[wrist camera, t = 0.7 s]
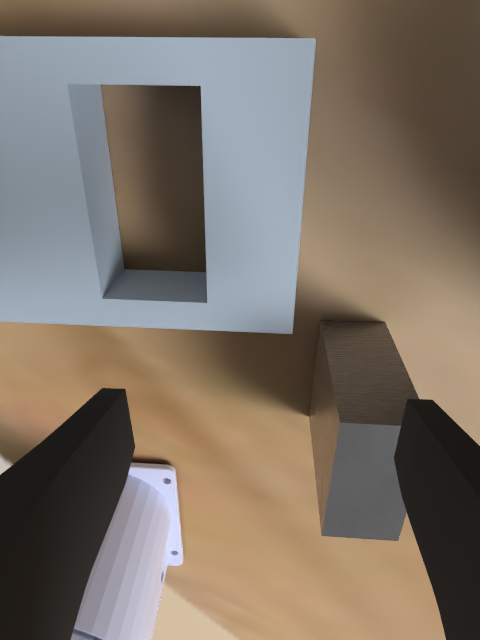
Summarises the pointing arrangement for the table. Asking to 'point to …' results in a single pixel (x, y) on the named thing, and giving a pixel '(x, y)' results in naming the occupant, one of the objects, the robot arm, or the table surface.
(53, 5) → the table surface
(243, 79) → the slotted pale blue plate
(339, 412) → the tall dark grey prism
